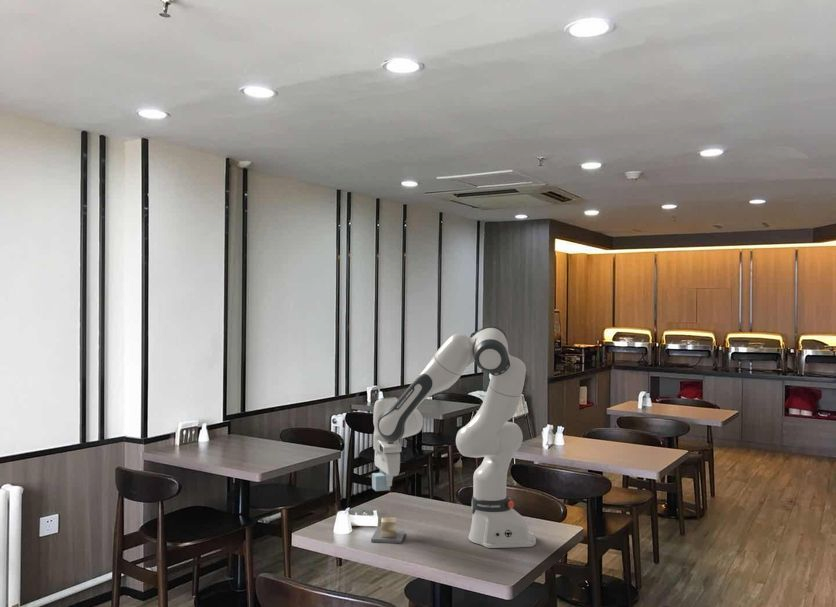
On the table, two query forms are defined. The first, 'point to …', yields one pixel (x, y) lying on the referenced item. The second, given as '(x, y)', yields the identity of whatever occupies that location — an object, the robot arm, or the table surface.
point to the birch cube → (388, 527)
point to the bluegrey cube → (379, 482)
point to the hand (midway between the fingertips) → (386, 483)
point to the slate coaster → (396, 539)
